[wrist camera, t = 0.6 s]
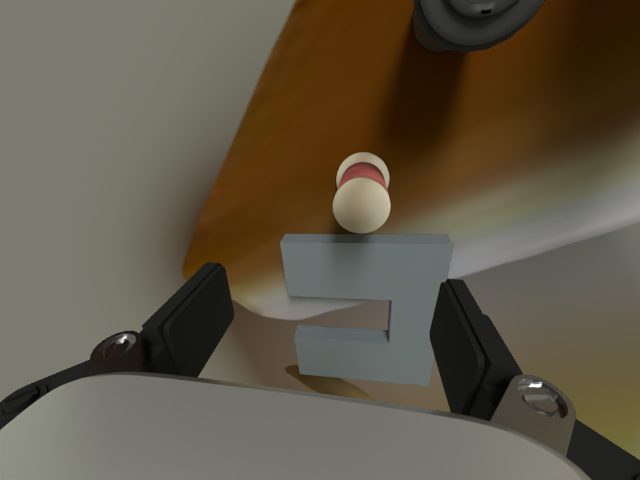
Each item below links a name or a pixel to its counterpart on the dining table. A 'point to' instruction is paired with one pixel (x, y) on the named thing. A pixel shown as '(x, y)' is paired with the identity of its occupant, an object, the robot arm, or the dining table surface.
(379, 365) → the notched board
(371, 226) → the bobbin
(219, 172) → the dining table surface
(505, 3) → the coffee cup
